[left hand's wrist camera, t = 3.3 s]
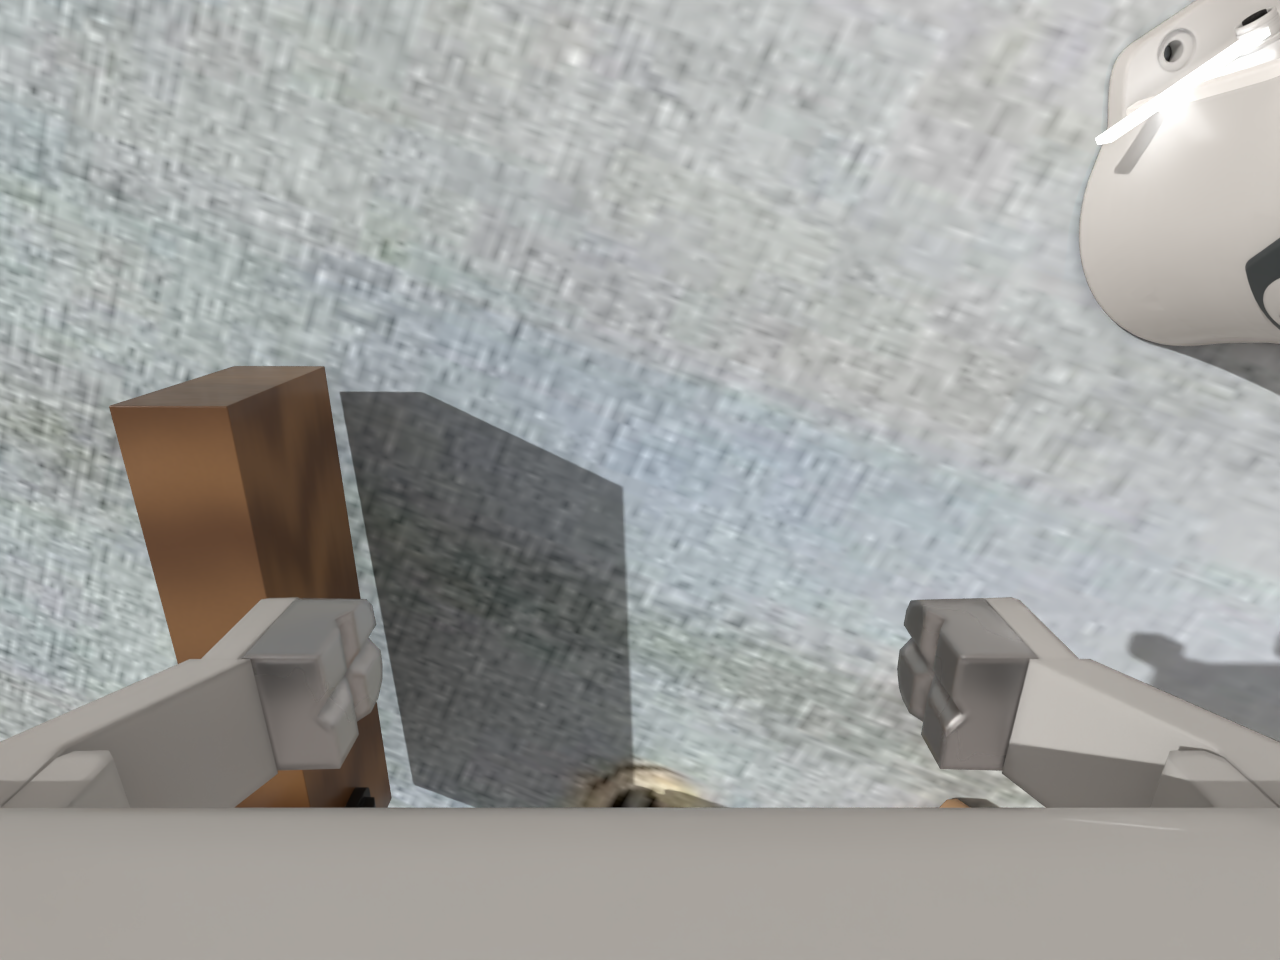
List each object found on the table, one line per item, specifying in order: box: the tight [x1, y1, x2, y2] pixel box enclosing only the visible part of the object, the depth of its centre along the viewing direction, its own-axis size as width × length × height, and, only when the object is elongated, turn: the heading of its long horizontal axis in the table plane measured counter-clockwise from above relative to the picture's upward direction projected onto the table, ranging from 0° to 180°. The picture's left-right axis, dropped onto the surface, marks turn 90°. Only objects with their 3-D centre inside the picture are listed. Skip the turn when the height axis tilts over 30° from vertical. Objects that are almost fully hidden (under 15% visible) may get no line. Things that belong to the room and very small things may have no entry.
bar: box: [109, 366, 391, 808], centre depth 35 cm, size 28×5×9 cm, turn 0°
